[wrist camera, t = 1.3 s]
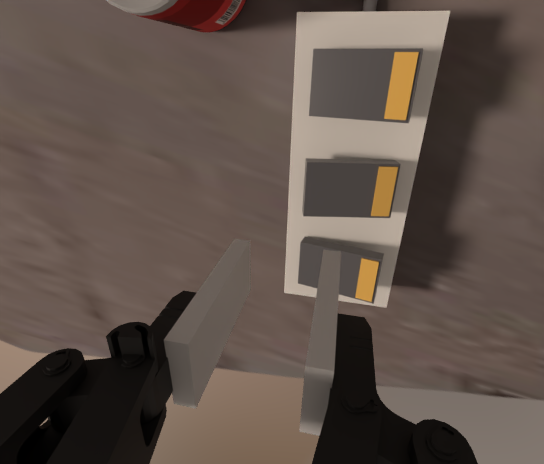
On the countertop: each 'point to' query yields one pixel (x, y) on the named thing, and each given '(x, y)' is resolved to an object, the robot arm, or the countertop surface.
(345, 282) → the block
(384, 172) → the rocker middle
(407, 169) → the rocker switch panel
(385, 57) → the rocker
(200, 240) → the countertop surface
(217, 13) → the canned food
